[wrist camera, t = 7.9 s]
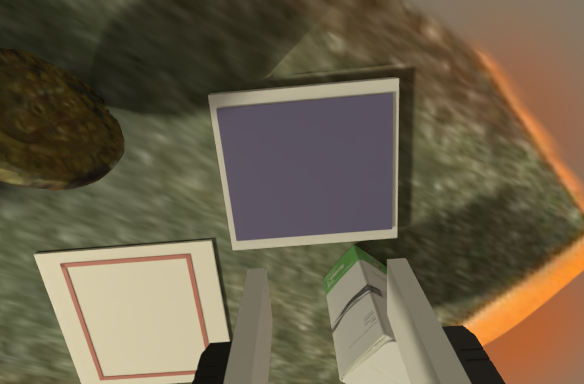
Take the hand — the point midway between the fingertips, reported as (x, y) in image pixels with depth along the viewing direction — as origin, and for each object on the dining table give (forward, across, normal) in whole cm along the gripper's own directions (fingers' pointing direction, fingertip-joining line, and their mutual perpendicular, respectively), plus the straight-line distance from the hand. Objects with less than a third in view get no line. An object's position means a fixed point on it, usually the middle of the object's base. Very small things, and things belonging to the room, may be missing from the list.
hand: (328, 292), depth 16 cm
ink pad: (+17, 0, 0) cm, 17 cm away
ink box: (+17, +5, -12) cm, 22 cm away
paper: (+17, -17, -14) cm, 28 cm away
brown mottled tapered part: (+17, -17, +6) cm, 25 cm away
